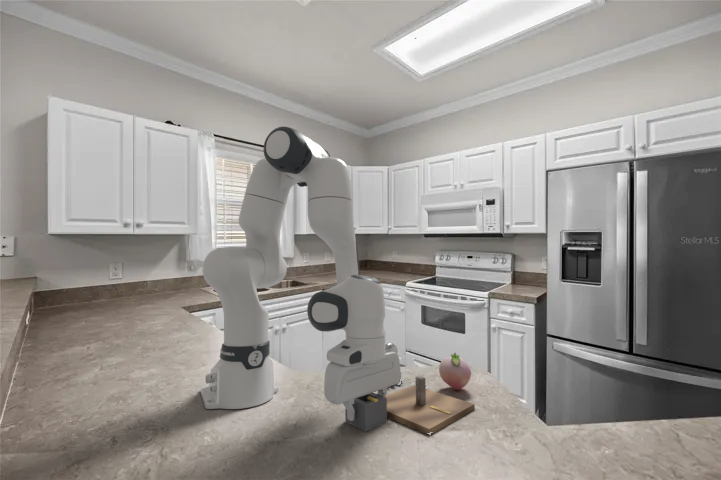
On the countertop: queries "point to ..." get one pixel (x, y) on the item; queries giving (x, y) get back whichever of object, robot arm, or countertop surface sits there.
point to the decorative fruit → (455, 371)
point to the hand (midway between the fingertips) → (365, 413)
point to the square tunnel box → (369, 411)
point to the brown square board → (425, 407)
